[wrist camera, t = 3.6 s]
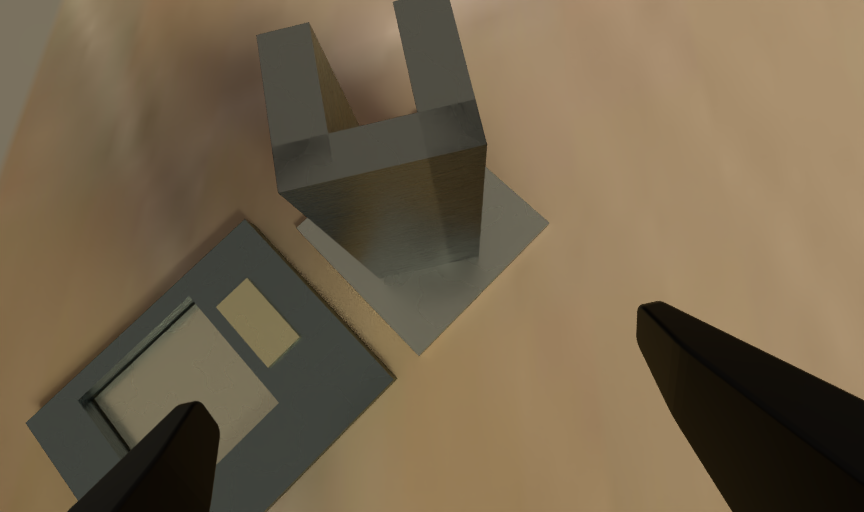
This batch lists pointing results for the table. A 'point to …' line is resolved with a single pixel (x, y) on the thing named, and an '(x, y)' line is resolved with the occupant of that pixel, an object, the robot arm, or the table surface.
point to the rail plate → (222, 377)
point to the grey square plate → (440, 269)
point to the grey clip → (381, 147)
